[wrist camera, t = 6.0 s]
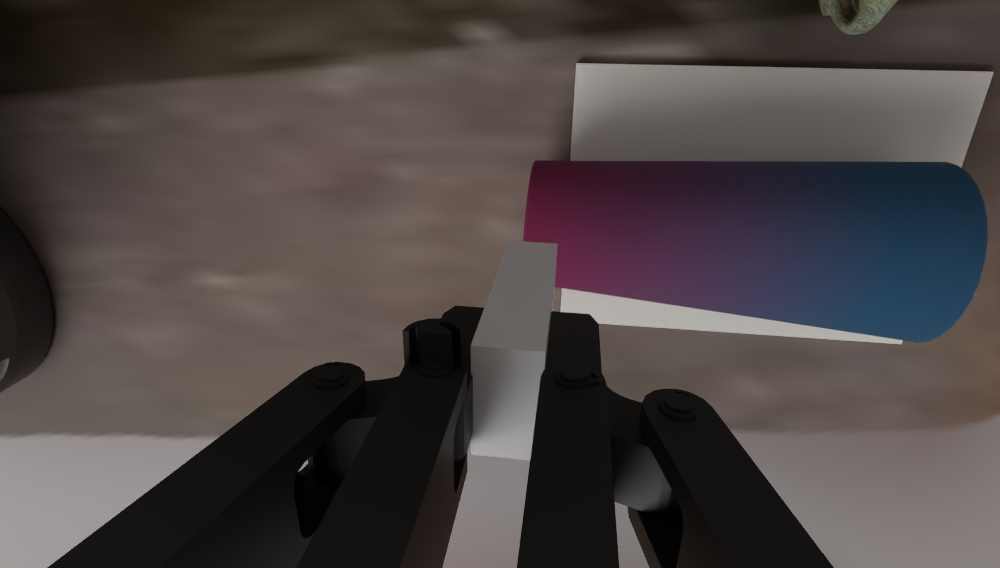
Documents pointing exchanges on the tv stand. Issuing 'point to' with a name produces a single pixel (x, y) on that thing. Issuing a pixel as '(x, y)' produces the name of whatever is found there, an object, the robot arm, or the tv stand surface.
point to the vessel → (856, 14)
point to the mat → (762, 141)
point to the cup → (770, 238)
